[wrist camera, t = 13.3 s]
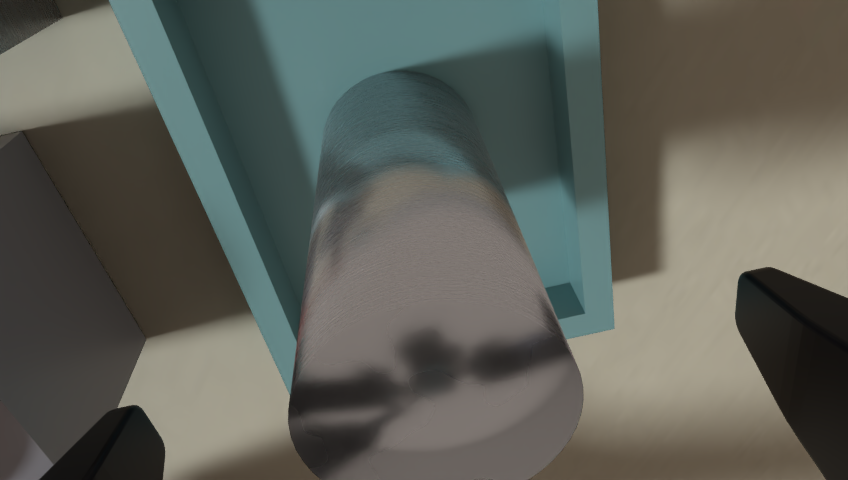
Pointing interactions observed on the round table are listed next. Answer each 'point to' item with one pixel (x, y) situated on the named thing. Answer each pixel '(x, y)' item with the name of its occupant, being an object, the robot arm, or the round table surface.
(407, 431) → the shiny silver cylinder
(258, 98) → the tray
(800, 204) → the round table surface
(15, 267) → the block
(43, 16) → the socket
